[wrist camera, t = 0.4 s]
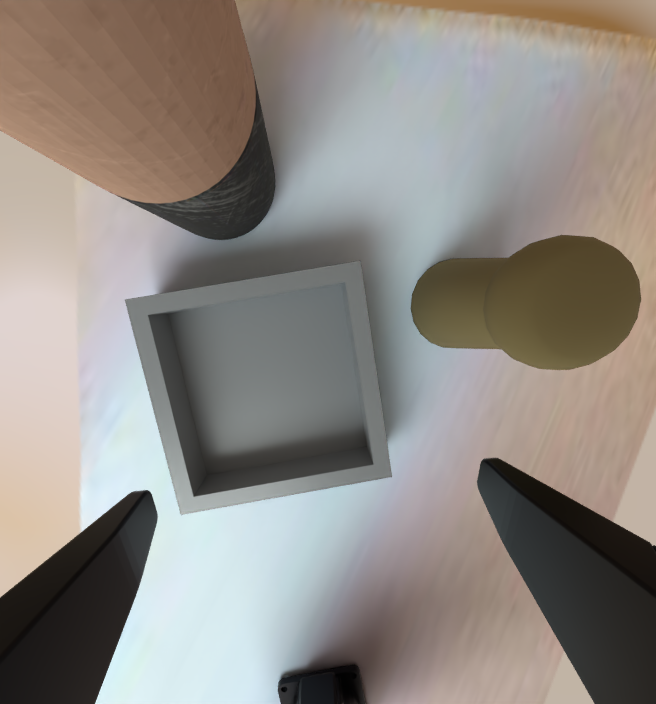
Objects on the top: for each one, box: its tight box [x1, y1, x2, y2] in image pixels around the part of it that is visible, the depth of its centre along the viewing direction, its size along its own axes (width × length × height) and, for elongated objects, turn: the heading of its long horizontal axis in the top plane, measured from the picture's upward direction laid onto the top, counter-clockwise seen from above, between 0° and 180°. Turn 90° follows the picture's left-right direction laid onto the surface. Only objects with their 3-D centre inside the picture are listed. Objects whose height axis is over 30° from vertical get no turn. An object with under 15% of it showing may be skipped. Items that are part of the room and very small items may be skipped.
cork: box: [411, 235, 641, 370], centre depth 17 cm, size 6×6×11 cm
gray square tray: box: [125, 261, 392, 515], centre depth 20 cm, size 13×13×4 cm
